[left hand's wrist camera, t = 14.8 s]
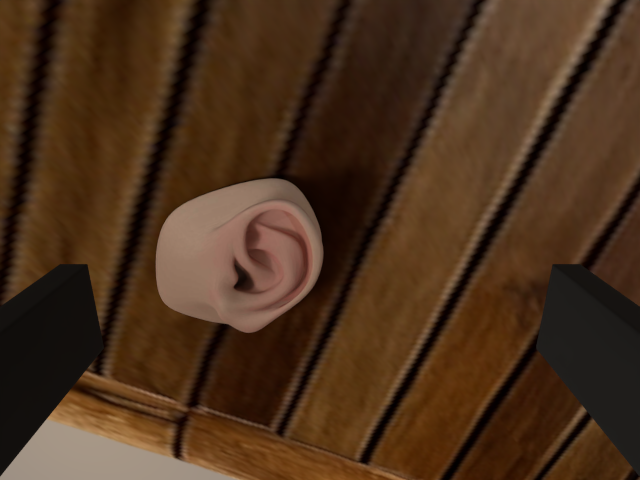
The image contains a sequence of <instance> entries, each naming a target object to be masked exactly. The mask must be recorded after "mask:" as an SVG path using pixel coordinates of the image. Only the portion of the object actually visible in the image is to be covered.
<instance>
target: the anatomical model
mask: <svg viewBox="0 0 640 480" xmlns="http://www.w3.org/2000/svg"><path fill="white" fill-rule="evenodd" d="M322 263H323V245H322V236H321V231H320V227H319V224H318V221H317V219H316V216H315V214H314V212H313V210H312V208H311V206H310V204H309V202H308V201H307V199H306V198H305V196H304V195H303V193H302V192H301V191H300V190H299V189H298V188H297V187H296V186H295V185H294V184H292V183H290V182H288V181H286V180H282V179H276V178H269V179H261V180H254V181H249V182H245V183H240V184H236V185H232V186H229V187H225V188H222V189H219V190H216V191H213V192H210V193H207V194H205V195H202V196H199V197H197V198H195V199H193V200H191V201H188V202H186V203H185V204H183V205H181V206H180V207H178V208H177V209H176V210H174V211H173V212H172V213H171V215H170V216H169V217H168V218H167V220H166V221H165V223H164V225H163V227H162V229H161V232H160V236H159V240H158V245H157V252H156V279H157V287H158V291H159V294H160V296H161V298H162V300H163V302H164V303H165V304H166V305H167V306H168V307H170V308H171V309H173V310H175V311H178V312H180V313H183V314H186V315H189V316H192V317H196V318H200V319H203V320H207V321H212V322H218V323H225V324H229V325H231V326H233V327H234V328H236V329H238V330H240V331H243V332H246V333H251V332H255V331H258V330H260V329H261V328H263V327H265V326H266V325H267V324H269V323H270V322H272V321H273V320H274V319H276V318H277V317H279V316H280V315H282V314H283V313H285V312H286V311H287V310H289V309H290V308H292V307H293V306H294V305H296V304H297V303H298V302H300V301H301V300H302V299H303V298H304V297H305V296H306V295H307V294H308V293H309V292H310V290H311V289H312V288H313V286H314V285H315V283H316V281H317V279H318V277H319V274H320V271H321V267H322Z"/></svg>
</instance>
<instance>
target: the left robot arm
mask: <svg viewBox="0 0 640 480" xmlns="http://www.w3.org/2000/svg"><path fill="white" fill-rule="evenodd" d="M103 348H104V346H103V341H102V336H101V331H100V326H99V321H98V316H97V311H96V306H95V301H94V296H93V291H92V286H91V280H90V275H89V270H88V265H87V264H60V265H58V266H57V267H56V268H54V269H53V270H51V271H50V272H49V273H47V274H46V275H44V276H43V277H42V278H40V279H39V280H37V281H36V282H35V283H33V284H32V285H30V286H29V287H27V288H26V289H25V290H23V291H22V292H20V293H19V294H18V295H16V296H15V297H13V298H12V299H11V300H9V301H8V302H6V303H5V304H3V305H2V306H1V307H0V476H1V475H2V473H3V472H4V471H5V470H6V468H7V467H8V466H9V465H10V464H11V462H12V461H13V460H14V459H15V457H16V456H17V455H18V454H19V452H20V451H21V450H22V449H23V447H24V446H25V445H26V444H27V443H28V441H29V440H30V439H31V437H32V436H33V435H34V434H35V433H36V431H37V430H38V429H39V428H40V426H41V425H42V424H43V423H44V421H45V420H46V419H47V418H48V416H49V415H50V414H51V413H52V412H53V410H54V409H55V408H56V407H57V405H58V404H59V403H60V402H61V400H62V399H63V398H64V397H65V395H66V394H67V393H68V392H69V390H70V389H71V388H72V387H73V386H74V384H75V383H76V382H77V381H78V379H79V378H80V377H81V376H82V374H83V373H84V372H85V371H86V369H87V368H88V367H89V366H90V364H91V363H92V362H93V361H94V359H95V358H96V357H97V356H98V355H99V353H100V352H101V351H102V350H103ZM536 348H537V350H538V351H539V352H540V353H541V355H542V356H543V357H544V358H545V359H546V361H547V362H548V363H549V364H550V366H551V367H552V368H553V369H554V371H555V372H556V373H557V374H558V376H559V377H560V378H561V379H562V381H563V382H564V383H565V384H566V386H567V387H568V388H569V389H570V390H571V392H572V393H573V394H574V395H575V397H576V398H577V399H578V400H579V402H580V403H581V404H582V405H583V407H584V408H585V409H586V410H587V412H588V413H589V414H590V415H591V416H592V418H593V419H594V420H595V421H596V423H597V424H598V425H599V426H600V428H601V429H602V430H603V431H604V433H605V434H606V435H607V436H608V438H609V439H610V440H611V441H612V443H613V444H614V445H615V446H616V447H617V449H618V450H619V451H620V452H621V454H622V455H623V456H624V457H625V459H626V460H627V461H628V462H629V464H630V465H631V466H632V467H633V469H634V470H635V471H636V472H637V473H638V475H639V476H640V307H639V306H638V305H637V304H635V303H634V302H632V301H631V300H629V299H628V298H627V297H625V296H624V295H622V294H621V293H620V292H618V291H617V290H615V289H614V288H613V287H611V286H610V285H608V284H607V283H605V282H604V281H603V280H601V279H600V278H598V277H597V276H596V275H594V274H593V273H591V272H590V271H589V270H587V269H586V268H584V267H583V266H582V265H580V264H553V265H552V270H551V275H550V280H549V286H548V291H547V296H546V301H545V306H544V311H543V316H542V321H541V326H540V331H539V336H538V341H537V346H536Z"/></svg>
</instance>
